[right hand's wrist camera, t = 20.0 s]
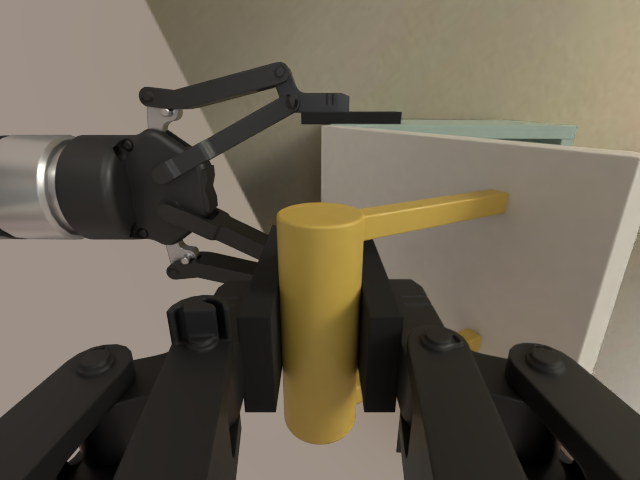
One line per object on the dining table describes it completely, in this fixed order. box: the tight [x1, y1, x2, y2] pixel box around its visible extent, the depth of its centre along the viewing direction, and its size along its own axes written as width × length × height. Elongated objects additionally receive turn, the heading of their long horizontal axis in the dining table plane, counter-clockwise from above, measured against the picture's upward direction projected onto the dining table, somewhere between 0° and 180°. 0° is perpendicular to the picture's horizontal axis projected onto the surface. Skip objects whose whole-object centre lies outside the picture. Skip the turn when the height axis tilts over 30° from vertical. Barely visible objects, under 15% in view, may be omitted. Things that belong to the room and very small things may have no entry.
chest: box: [330, 120, 577, 146], centre depth 29 cm, size 15×9×10 cm, turn 90°
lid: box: [276, 125, 640, 444], centre depth 15 cm, size 16×9×9 cm
